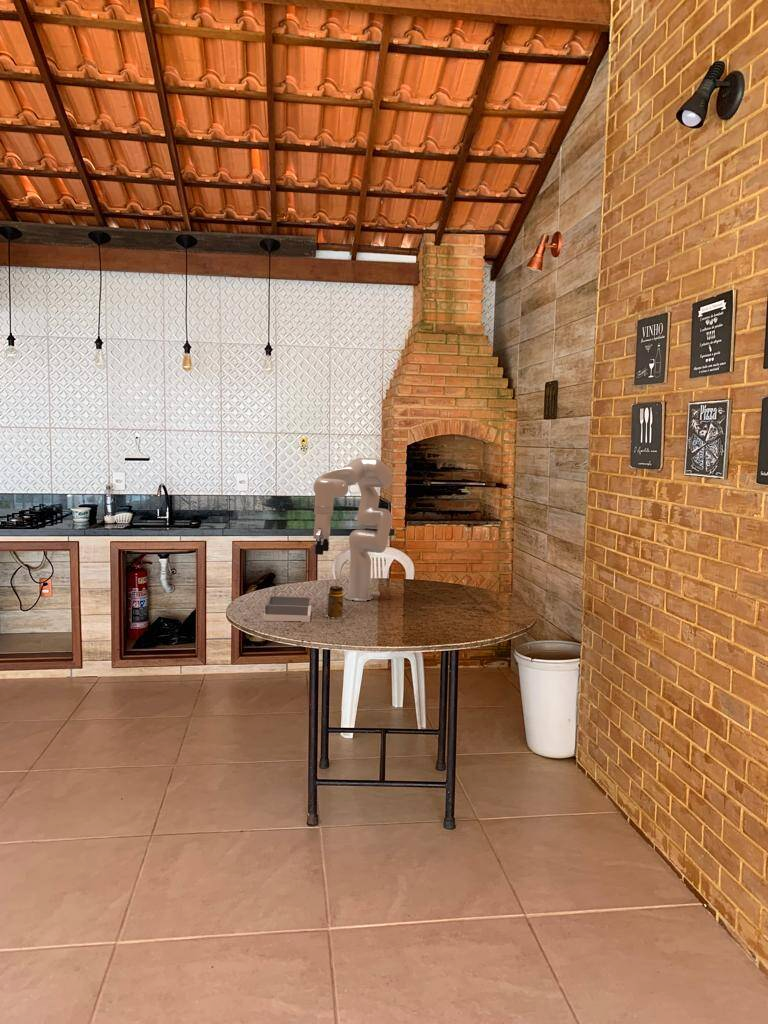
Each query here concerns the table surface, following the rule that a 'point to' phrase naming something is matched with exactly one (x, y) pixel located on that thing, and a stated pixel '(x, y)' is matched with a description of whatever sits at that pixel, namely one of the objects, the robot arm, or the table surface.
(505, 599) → the table surface
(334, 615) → the condiment
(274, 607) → the dock
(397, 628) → the table surface
